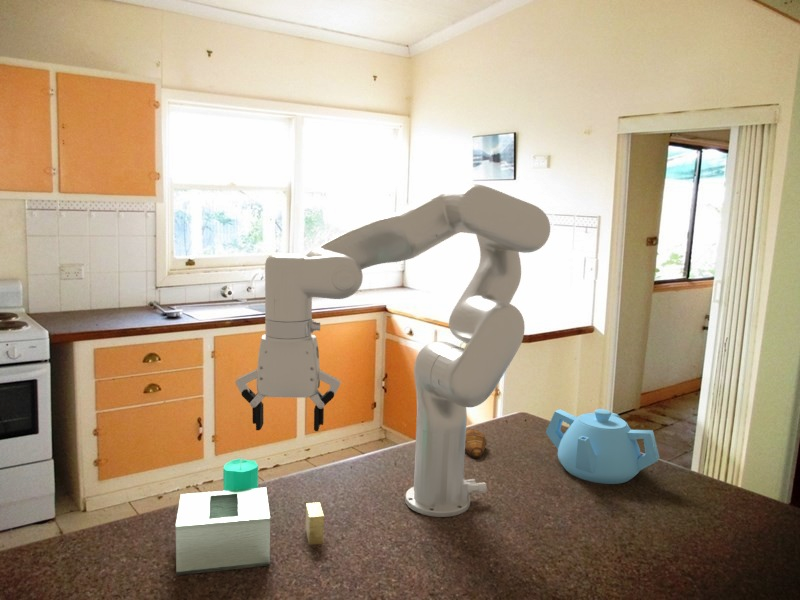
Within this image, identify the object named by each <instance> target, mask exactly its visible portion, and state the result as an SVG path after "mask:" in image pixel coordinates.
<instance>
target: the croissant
mask: <svg viewBox="0 0 800 600" xmlns="http://www.w3.org/2000/svg"><path fill="white" fill-rule="evenodd" d="M486 445H487V439H486V437H485V434H484V433H483V432H482V431H478V430H476V429H469V430H466V439H465V452H466V453H467V454H468V455H469V456H470V457H472V458H474V459H480V458H481V456H482V455H483V453H484V451H485V449H486Z"/></svg>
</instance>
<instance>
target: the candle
mask: <svg viewBox="0 0 800 600" xmlns="http://www.w3.org/2000/svg"><path fill="white" fill-rule="evenodd" d="M222 469H223V491H227V490H239V489H252V488H259V465H258V463H257V462H256V460H248V459H244V458H242V456H240V458H236V459H232V460H230V461H228V462H226V463H225V464H224V466H223V468H222Z"/></svg>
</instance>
